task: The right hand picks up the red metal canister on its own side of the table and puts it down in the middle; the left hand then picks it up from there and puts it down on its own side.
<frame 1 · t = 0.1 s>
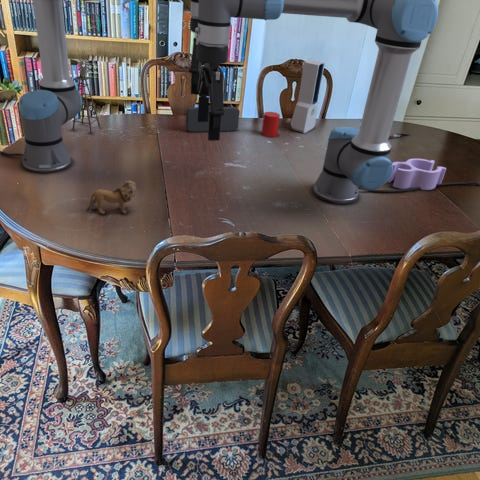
left hand: (199, 88, 153), 28 cm above the table, tool pointing down, fingers open, 13 cm apart
right hand: (207, 130, 122), 28 cm above the table, tool pointing down, fingers open, 13 cm apart
electronic device: (302, 128, 215), on the table
sword: (389, 139, 213), on the table
canister: (269, 134, 204), on the table
dark grey rectangular block: (212, 130, 202), on the table
miniature windmill: (86, 128, 190), on the table
lion figurine: (113, 210, 138), on the table
clip: (412, 183, 175), on the table
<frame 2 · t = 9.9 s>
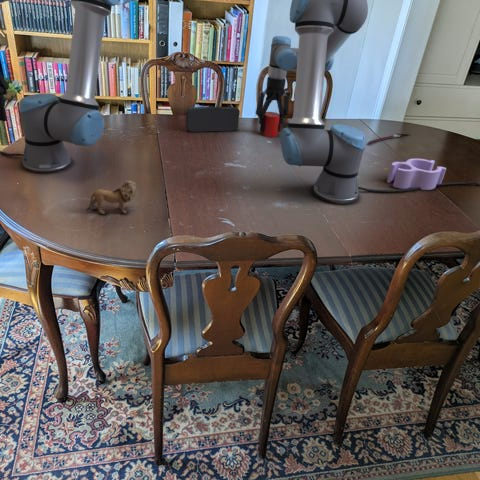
right hand: (269, 131, 204), 2 cm above the table, tool pointing down, fingers closed on canister, 7 cm apart
canister: (269, 134, 204), on the table, touching right hand
everything else where it was.
when the right hand's fingers open (3 cm above the table, at t = 25.3 s): canister drops 2 cm, on the table.
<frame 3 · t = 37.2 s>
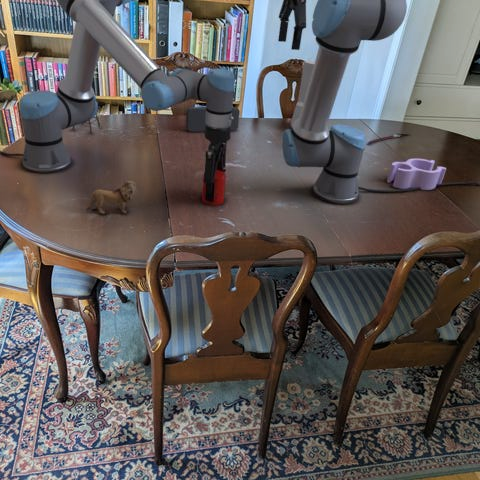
left hand: (213, 195, 148), 2 cm above the table, tool pointing down, fingers closed on canister, 7 cm apart
right hand: (288, 45, 164), 41 cm above the table, tool pointing down, fingers open, 13 cm apart
canister: (212, 199, 149), on the table, touching left hand
everything else where it was.
when the left hand's fingers open (3 cm above the table, at t = 52.8 s): canister drops 2 cm, on the table.
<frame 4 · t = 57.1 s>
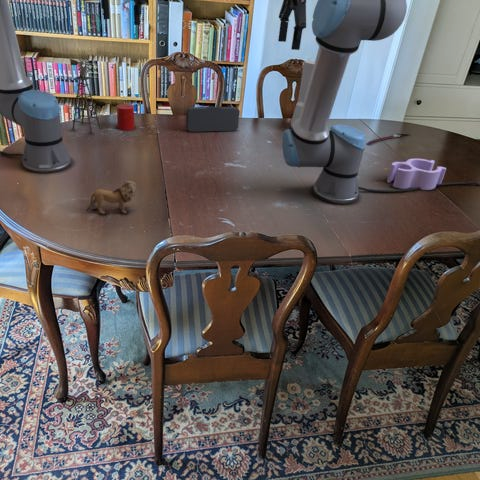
left hand: (121, 21, 173), 41 cm above the table, tool pointing down, fingers open, 13 cm apart
right hand: (288, 45, 164), 41 cm above the table, tool pointing down, fingers open, 13 cm apart
canister: (126, 127, 195), on the table
everything else where it was.
at the end: canister inside the target area (0.1 cm from its centre), on the table; canister tilted 0°; the two hands never held the canister at the same time; the left hand is holding nothing; the right hand is holding nothing; canister at rest at the end (0.0 cm/s) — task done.
